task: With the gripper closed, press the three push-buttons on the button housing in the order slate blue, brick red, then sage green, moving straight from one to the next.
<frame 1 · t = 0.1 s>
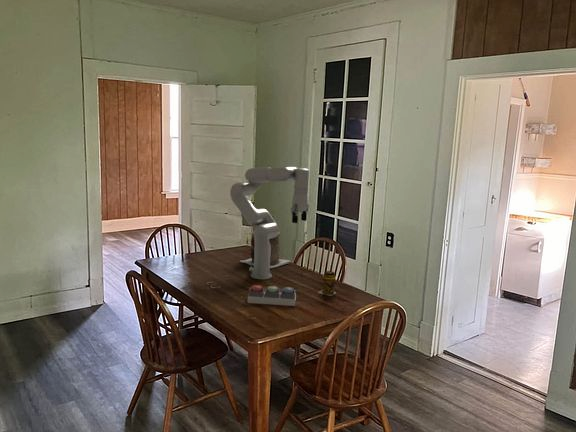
hand: (299, 221, 264), 37 cm above the table, tool pointing down, fingers open, 9 cm apart
condiment: (327, 293, 260), on the table
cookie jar: (264, 263, 312), on the table
blue button: (288, 290, 242), point 6 cm above the table, slide at 0.0 cm
button housing: (272, 300, 244), on the table
red button: (256, 288, 243), point 6 cm above the table, slide at 0.0 cm
sage button: (272, 289, 243), point 6 cm above the table, slide at 0.0 cm
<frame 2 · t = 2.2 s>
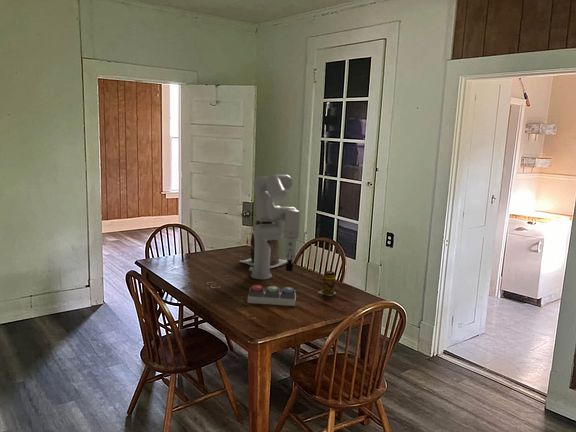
hand: (289, 269, 240), 17 cm above the table, tool pointing down, fingers open, 3 cm apart
nothing on the table moved.
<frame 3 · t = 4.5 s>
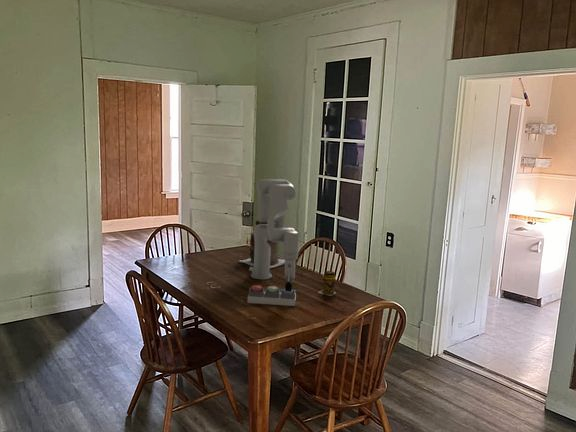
hand: (288, 290, 242), 6 cm above the table, tool pointing down, fingers closed
blue button: (288, 292, 242), point 5 cm above the table, slide at 0.8 cm, touching gripper
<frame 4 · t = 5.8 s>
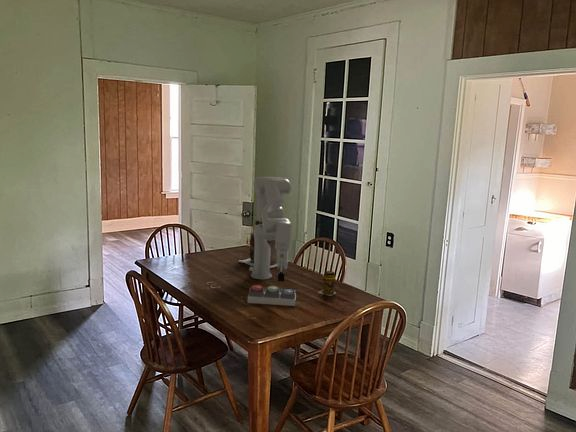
hand: (280, 280, 242), 11 cm above the table, tool pointing down, fingers closed
blue button: (288, 293, 242), point 5 cm above the table, slide at 1.3 cm
everything else where it was.
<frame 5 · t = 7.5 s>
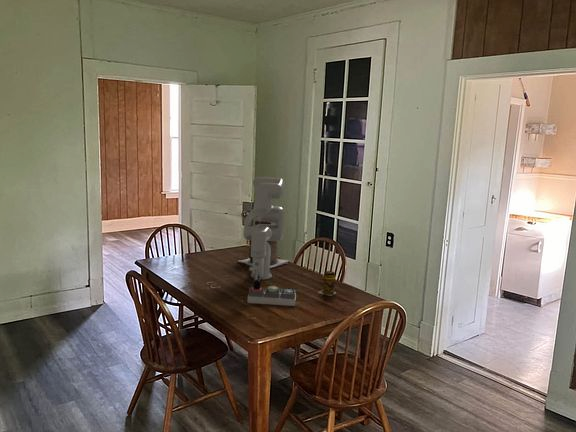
hand: (256, 288, 242), 6 cm above the table, tool pointing down, fingers closed
red button: (256, 290, 243), point 5 cm above the table, slide at 1.0 cm, touching gripper
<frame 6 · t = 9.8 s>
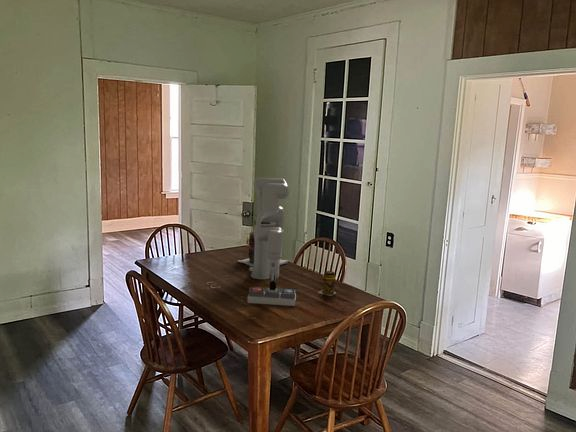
hand: (272, 289, 242), 6 cm above the table, tool pointing down, fingers closed
red button: (256, 291, 243), point 5 cm above the table, slide at 1.3 cm
sage button: (272, 291, 243), point 5 cm above the table, slide at 0.9 cm, touching gripper
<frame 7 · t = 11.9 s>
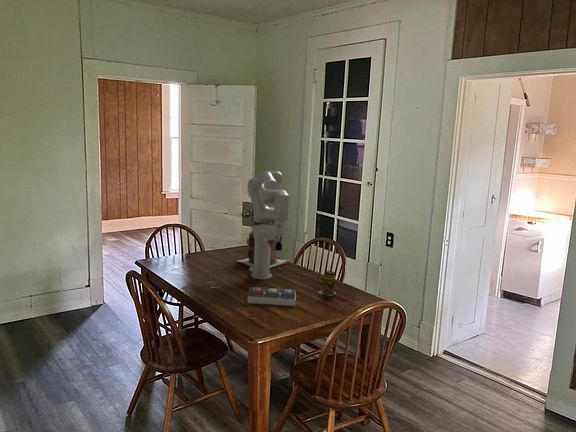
hand: (278, 250, 252), 24 cm above the table, tool pointing down, fingers closed
sage button: (272, 292, 243), point 5 cm above the table, slide at 1.3 cm
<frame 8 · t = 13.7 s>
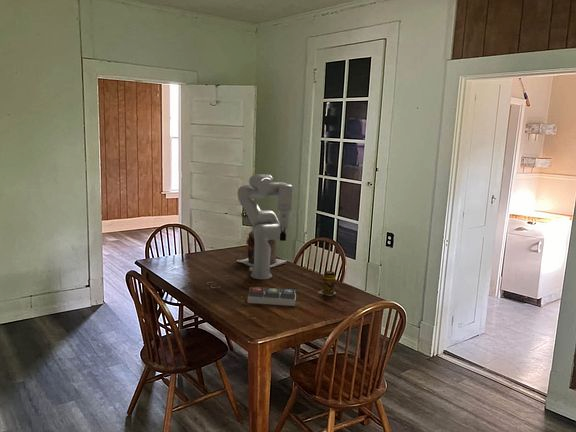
hand: (282, 240, 260), 27 cm above the table, tool pointing down, fingers closed
at the end: blue button slide at 1.3 cm; red button slide at 1.3 cm; sage button slide at 1.3 cm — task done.
